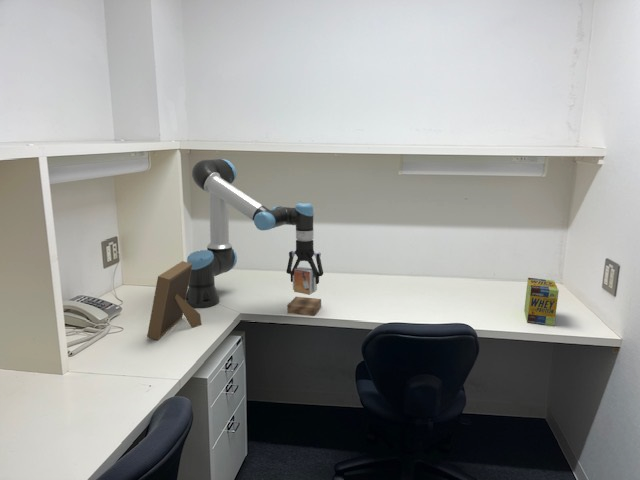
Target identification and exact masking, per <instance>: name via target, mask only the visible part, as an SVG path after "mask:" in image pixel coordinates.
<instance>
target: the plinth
mask: <svg viewBox="0 0 640 480" xmlns="http://www.w3.org/2000/svg"><path fill="white" fill-rule="evenodd" d="M321 307H322V298H315V297H303V296H295V297H294V298H293V299H292V300H290V302H289V303H288V304H287V314H292V315H301V316H308V315H309V316H308V317H310V316H311V317H315V315H317V313H318V312H319V310H320V309H321Z"/></svg>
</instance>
